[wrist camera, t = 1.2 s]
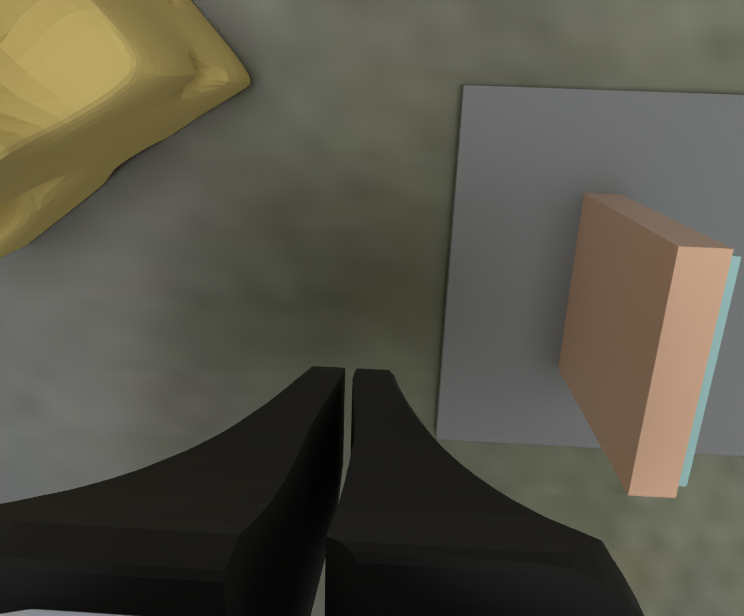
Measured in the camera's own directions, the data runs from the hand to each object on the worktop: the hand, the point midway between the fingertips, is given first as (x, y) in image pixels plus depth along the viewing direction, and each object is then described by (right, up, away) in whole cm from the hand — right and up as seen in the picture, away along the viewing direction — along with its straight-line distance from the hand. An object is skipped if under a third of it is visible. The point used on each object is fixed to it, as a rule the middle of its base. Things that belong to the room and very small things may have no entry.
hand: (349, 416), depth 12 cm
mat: (+9, +3, +9) cm, 13 cm away
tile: (+7, +3, +8) cm, 12 cm away
